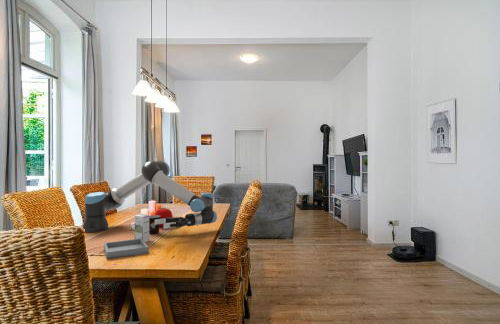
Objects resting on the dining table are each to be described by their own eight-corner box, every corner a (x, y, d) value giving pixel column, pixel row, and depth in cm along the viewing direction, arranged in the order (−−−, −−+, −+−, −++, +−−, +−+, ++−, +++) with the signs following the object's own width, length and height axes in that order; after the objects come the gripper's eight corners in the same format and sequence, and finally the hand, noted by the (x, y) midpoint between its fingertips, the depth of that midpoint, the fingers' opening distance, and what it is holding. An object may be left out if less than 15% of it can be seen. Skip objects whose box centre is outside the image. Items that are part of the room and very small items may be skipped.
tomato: (156, 224, 209) (156, 206, 208) (173, 224, 210) (173, 206, 210) (152, 228, 196) (152, 209, 196) (170, 228, 198) (170, 208, 197)
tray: (103, 248, 151) (103, 242, 151) (141, 243, 160) (141, 238, 160) (106, 259, 136) (106, 252, 136) (148, 252, 145) (148, 246, 145)
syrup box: (149, 240, 168) (149, 214, 168) (142, 243, 162) (142, 216, 162) (141, 239, 170) (141, 213, 170) (134, 242, 164) (134, 215, 164)
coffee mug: (162, 231, 188) (162, 215, 188) (157, 234, 180) (157, 218, 179) (144, 231, 189) (144, 215, 189) (138, 234, 181) (138, 217, 181)
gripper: (203, 229, 175) (168, 235, 162) (184, 222, 195) (151, 226, 182) (203, 216, 175) (167, 221, 162) (184, 210, 195) (151, 214, 182)
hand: (159, 224), depth 172 cm, fingers open, 13 cm apart
